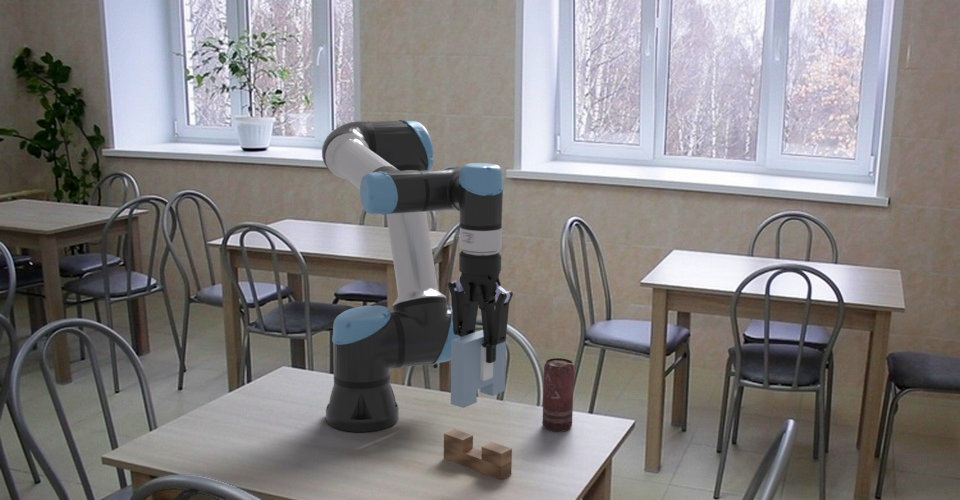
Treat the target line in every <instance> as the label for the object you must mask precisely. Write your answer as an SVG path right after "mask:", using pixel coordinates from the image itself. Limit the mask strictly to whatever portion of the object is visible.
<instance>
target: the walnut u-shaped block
mask: <svg viewBox="0 0 960 500" xmlns="http://www.w3.org/2000/svg"><path fill="white" fill-rule="evenodd" d="M512 456H513V449H512V448H510V447H508V446H505V445H502V444H500V443H496V442H494V441H490V442H489V443H487V444H484V445H482V446H481V450H480V449H477V448H474V435H473V434H470V433H467V432H464V431H462V430H458V429H456V428H453V429H452V430H449V431H447V432H444V433H443V459H444V460H448V461H450V462H452V463H455V464H458V465H460V466H463V467H466V468H468V469H472V470H475V471H477V472H480V473H482V474H486V475H487V476H490V477H493V478H496V479H499V480H503V479H505V478H507V477H509V476H511V475H512V464H513V463H512V461H513V457H512Z"/></svg>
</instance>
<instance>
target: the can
mask: <svg viewBox="0 0 960 500" xmlns="http://www.w3.org/2000/svg"><path fill="white" fill-rule="evenodd" d="M575 369H576V367H575V364H573V361H572V360H570V359H567V358H559V357H558V358H555V357H554V358H549V359H547V360H546V361H545V364H544V366H543V395H542V396H543V398H542V425H543V427H544V429H546V430H547V431H551V432H567V431H568V430H570V429H571V428H572V426H573V411H574V408H573V407H574V383H575V378H576V376H575V375H576V370H575Z"/></svg>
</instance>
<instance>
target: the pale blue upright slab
mask: <svg viewBox="0 0 960 500" xmlns="http://www.w3.org/2000/svg"><path fill="white" fill-rule="evenodd" d="M483 343H484V335H483V329H481V330H478V331H475V332H474V333H471V334H468V335H465V336H462V337H459V338H456V339H453V340H451V360H450V405H453V406H455V407H456V406H457V407H460V408H462V409H464V408H467V407H469V406H472V405H474V404H477V401H478V399H477V398H478V393H477V392H478V390H479V392H480V393H481V394H485V395H488V396H492V397H493V396H497V395H499V394H501V393H503V392H506V369H507V368H506V367H507V366H506V364H507V363H506V362H507V340H506V341H505V342H503V343H500V344H497V345H496V360H495V362H493V378H490V379H487V380H485V381H482V380H480V366H481V345H482V344H483Z"/></svg>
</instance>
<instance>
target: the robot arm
mask: <svg viewBox="0 0 960 500" xmlns="http://www.w3.org/2000/svg"><path fill="white" fill-rule="evenodd" d="M434 152H435V151H434V147H433V142H432V138H431V136H430V133H429V131H428V130H427V128H426V127H425V126H424V125H423V124H422V123H421V122H418V121H415V120H405V119H398V120H380V121H379V120H377V121H376V120H375V121H373V120H371V121H368V120H367V121H363V120H362V121H359V120H358V121H357V120H356V121H351V122H348V123H344V124H342V125H340V126H338V127H336V128H335V129H333V130H332V131H331V132H330V133H329V134H328V135H327V136H326V138H325V140H324V141H323V145H322V149H321V158H322V161H323V163H324V166H325V167H326V168H327V170H328V171H330V173H332V175H334V176H336V177H337V178H339V179H343V180H348V181H349V182H350V184H352V185H353V186H354V187H356V188H357V189H358V190H359V195H360V196H359V197H360V203H361V206H362V208H363V210H364V211H365V213H367V214H370V215H372V214H373V215H384V216H386V221H387V227H388V228H387V229H388V235H389V241H390V247H391V254H392V262H393V268H394V276H395V281H396V288H397V295H398V296H397V299H396V300H395V301H394V303H393V304H392V311H393V312H391V310H390V309H389V308H388V307H387V306H384V305H381V304H380V305H377V304H376V305H370V304H369V305H362V306H361V305H360V306H356V307H352V308H349V309H346V310H344V311H343V312H342V311H341V313H340V314H337V316H336V317H335V319H334V320H333V329H332V337H331V341H332V351H333V352H332V353H333V355H332V356H333V360H332V361H333V386H332V390H331V393H330V398H329V402H328V403H327V406H326V408H325V421H326V423H327V424H328V426H330V427H331V428H334V429H336V430H339V431H345V432H353V433H354V432H356V433H365V432H367V433H368V432H374V431H380V430H384V429H387V428H389V427H391V426H393V425H394V424H396V423H397V422H398V420H399V417H400V416H399V415H400V414H399V412H400V411H399V410H400V409H399V405H398V403H397V400H396V396H395V393H394V390H393V388H392V384H391V370H392V369H400V368H409V367H415V366H425V365H426V366H427V365H430V366H431V365H433V366H434V365H436V364H439V363H446V362H450V361H451V340H453V339H456V338H459V337H462V336H465V335H468V334H471V333H474V332H476V326H477V317H478V310H480V315H481V323H482V324H481V325H482V330H483V335H484V343H483V344H482V345H481V366H480V380H482V381H485V380H487V379H490V378H493V362H495V360H496V345H497V344H500V343H503V342H505V341H506V342H507V330H508V322H509V321H508V319H509V311H510V310H509V309H510V302H511V300H512V298H513V296H514V294H513V291H512V290H506V289H505V288H503V287H502V283H501V281H500V274H501V271H502V253H501V251H500V250H501V249H502V248H503V247H502V246H503V245H502V244H503V241H502V240H503V239H502V238H503V233H502V231H503V228H502V227H503V226H502V223H503V222H502V220H503V199H504V198H503V195H504V194H503V191H504V183H503V170H502V168H501V166H500V165H498V164H493V163H487V162H485V163H484V162H473V163H472V162H471V163H466V164H463V165H462V167H461V166H447V167H444V168H441V169H433V166H434V161H435V159H434V154H435V153H434ZM441 211H444V212H445V211H458V212H459V249H461V251H460V252H459V255H458V261H459V262H458V265H459V266H458V269H459V272H460V273H461V274H460V276H459V279H457V280H453V281H449V282H448V284H447V286H448V290H449V294H450V295H451V296H450V297H451V305H448V300H447V296H446V295H445V294H443V293H441V292H440V290H439V288H438V281H437V280H438V279H437V275H436V274H437V273H436V268H435V262H434V261H435V260H434V254H433V248H432V243H431V235H430V230H429V229H430V228H429V223H428V222H429V221H428V218H427V216H428V215H427V212H441Z"/></svg>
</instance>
